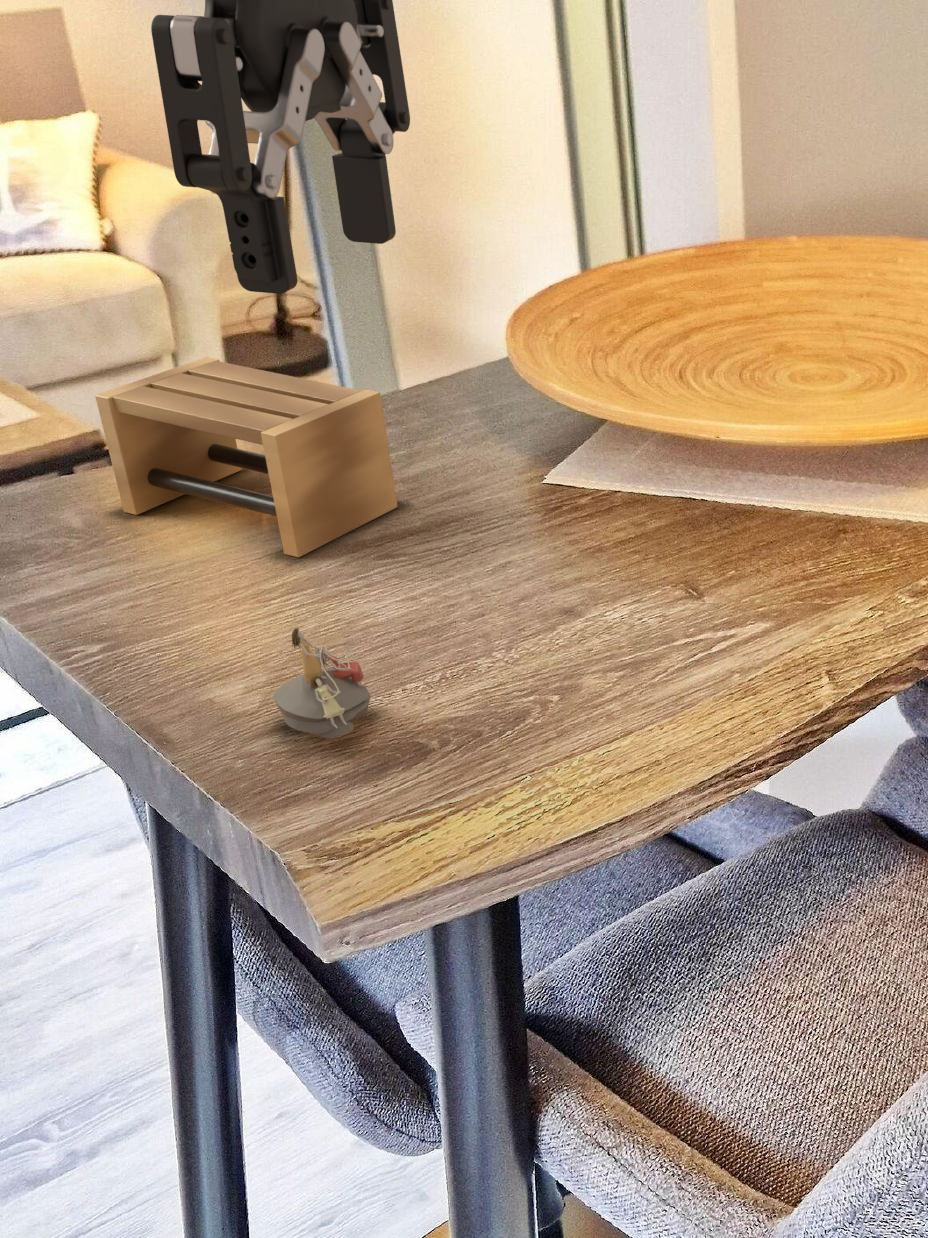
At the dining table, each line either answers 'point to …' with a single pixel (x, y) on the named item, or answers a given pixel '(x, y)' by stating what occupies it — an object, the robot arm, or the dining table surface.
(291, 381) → the rack
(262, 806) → the dining table surface
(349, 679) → the figurine
